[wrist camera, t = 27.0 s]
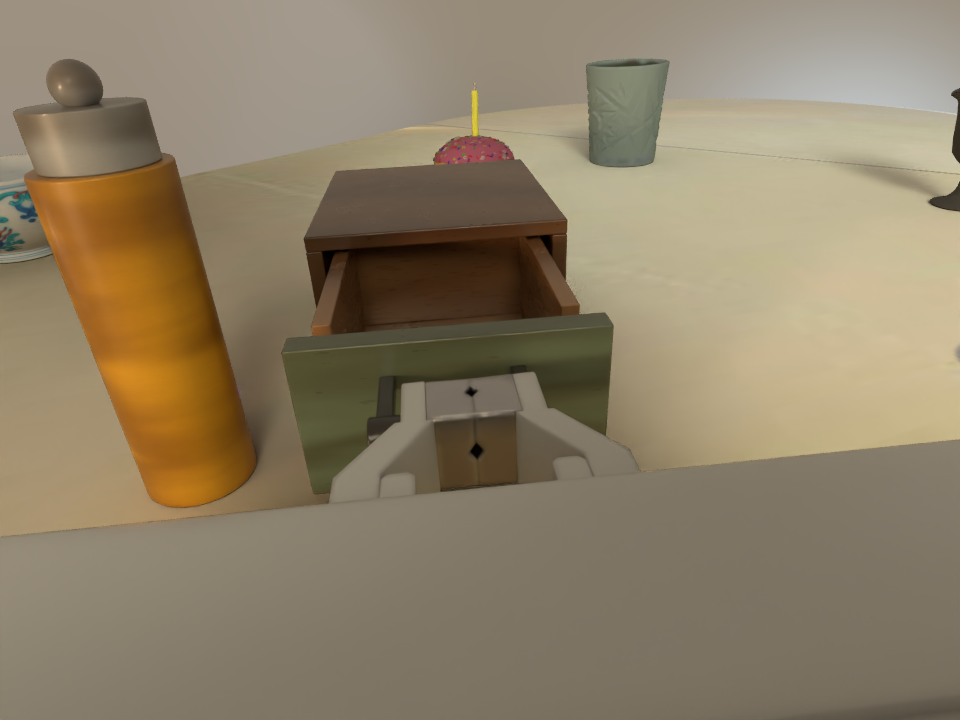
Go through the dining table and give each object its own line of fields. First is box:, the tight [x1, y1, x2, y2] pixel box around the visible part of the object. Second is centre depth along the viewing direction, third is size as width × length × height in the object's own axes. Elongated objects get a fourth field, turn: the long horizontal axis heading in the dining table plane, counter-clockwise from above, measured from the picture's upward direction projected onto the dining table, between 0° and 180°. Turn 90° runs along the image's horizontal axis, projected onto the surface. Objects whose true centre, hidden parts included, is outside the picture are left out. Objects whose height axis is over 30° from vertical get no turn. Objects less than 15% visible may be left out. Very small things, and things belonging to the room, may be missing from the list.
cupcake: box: [433, 82, 514, 165], centre depth 64 cm, size 9×8×12 cm
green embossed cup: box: [586, 59, 669, 167], centre depth 81 cm, size 10×10×12 cm
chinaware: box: [0, 154, 53, 263], centre depth 58 cm, size 15×15×8 cm
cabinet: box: [304, 159, 567, 308], centre depth 41 cm, size 16×14×9 cm
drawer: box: [281, 236, 614, 494], centre depth 29 cm, size 19×12×7 cm, turn 6°
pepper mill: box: [13, 59, 257, 508], centre depth 25 cm, size 5×5×17 cm
